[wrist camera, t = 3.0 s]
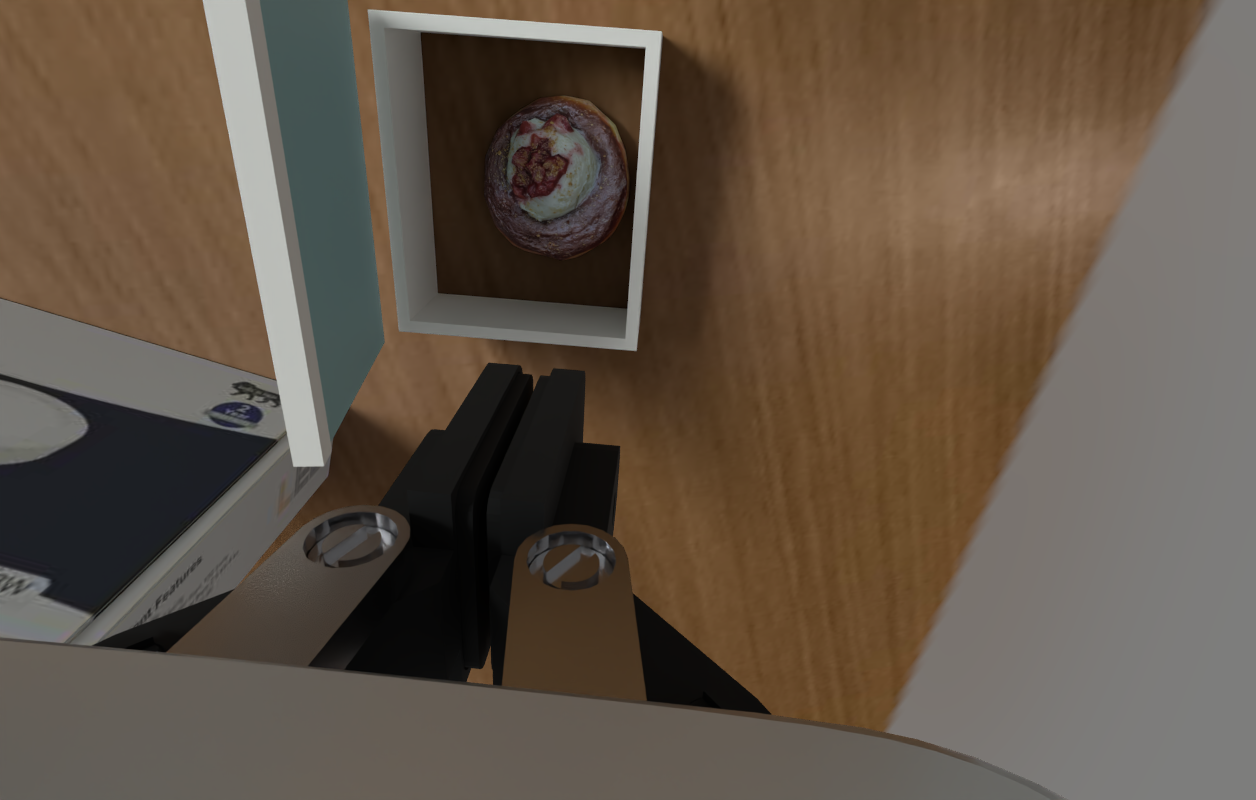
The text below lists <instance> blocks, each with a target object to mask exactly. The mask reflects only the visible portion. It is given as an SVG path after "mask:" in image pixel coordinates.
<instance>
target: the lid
mask: <svg viewBox="0 0 1256 800" xmlns="http://www.w3.org/2000/svg"><path fill="white" fill-rule="evenodd" d="M203 4H204V9H205V14H206V20H207V25H208V30H209V35H210V40H211V45H212V50H213V56H214V61H215V66H216V71H217V76H218V81H219V86H220V92H221V97H222V102H223V107H224V112H225V117H226V122H227V127H228V133H229V138H230V143H231V148H232V153H233V158H234V163H235V169H236V174H237V179H238V184H239V189H240V194H241V199H242V205H243V210H244V215H245V220H246V225H247V230H248V235H249V241H250V246H251V251H252V256H253V261H254V266H255V271H256V277H257V282H258V287H259V292H260V297H261V302H262V307H263V313H264V318H265V323H266V328H267V333H268V338H269V343H270V349H271V354H272V359H273V364H274V369H275V374H276V379H277V385H278V390H279V395H280V400H281V405H282V410H283V415H284V421H285V426H286V431H287V436H288V441H289V446H290V451H291V457H292V462H293V467H310V466H325V464H326V462H327V460H328V458H329V456H330V454H331V452H332V448H331V441H332V439H333V438H334V436H335V434H336V432H337V430H338V428H339V426H340V424H341V423H342V421H343V419H344V417H345V415H346V413H347V411H348V410H349V408H350V406H351V404H352V402H353V400H354V398H355V396H356V395H357V393H358V391H359V389H360V387H361V385H362V383H363V382H364V380H365V378H366V376H367V374H368V372H369V370H370V368H371V367H372V365H373V363H374V361H375V359H376V357H377V355H378V354H379V352H380V350H381V348H382V346H383V344H384V342H385V341H384V332H383V323H382V314H381V304H380V295H379V286H378V277H377V268H376V259H375V249H374V240H373V231H372V222H371V213H370V203H369V194H368V185H367V176H366V167H365V157H364V148H363V139H362V130H361V121H360V111H359V102H358V93H357V84H356V75H355V65H354V56H353V47H352V38H351V29H350V20H349V10H348V1H347V0H203Z"/></svg>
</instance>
